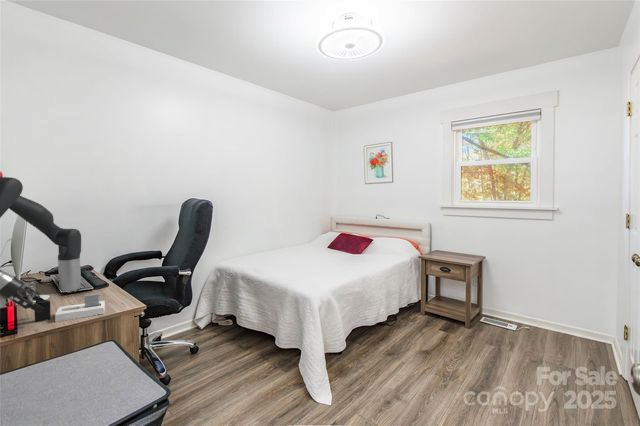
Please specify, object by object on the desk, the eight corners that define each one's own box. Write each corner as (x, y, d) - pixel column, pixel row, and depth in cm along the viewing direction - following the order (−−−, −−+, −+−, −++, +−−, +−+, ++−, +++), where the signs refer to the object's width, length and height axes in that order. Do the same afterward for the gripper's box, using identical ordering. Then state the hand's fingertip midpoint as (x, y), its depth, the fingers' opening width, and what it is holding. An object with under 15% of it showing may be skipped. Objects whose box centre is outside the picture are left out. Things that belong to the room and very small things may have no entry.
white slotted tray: (59, 313, 140) (58, 295, 139) (105, 306, 148) (104, 290, 148) (55, 321, 131) (54, 303, 130) (103, 314, 140) (103, 296, 139)
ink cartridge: (50, 317, 135) (50, 299, 135) (50, 319, 133) (50, 301, 133) (35, 320, 132) (34, 301, 132) (34, 322, 130) (34, 303, 130)
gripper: (7, 281, 121) (48, 305, 128) (18, 272, 133) (54, 295, 140) (-11, 297, 119) (31, 320, 125) (1, 287, 131) (39, 309, 138)
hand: (43, 307), depth 133 cm, fingers open, 8 cm apart
